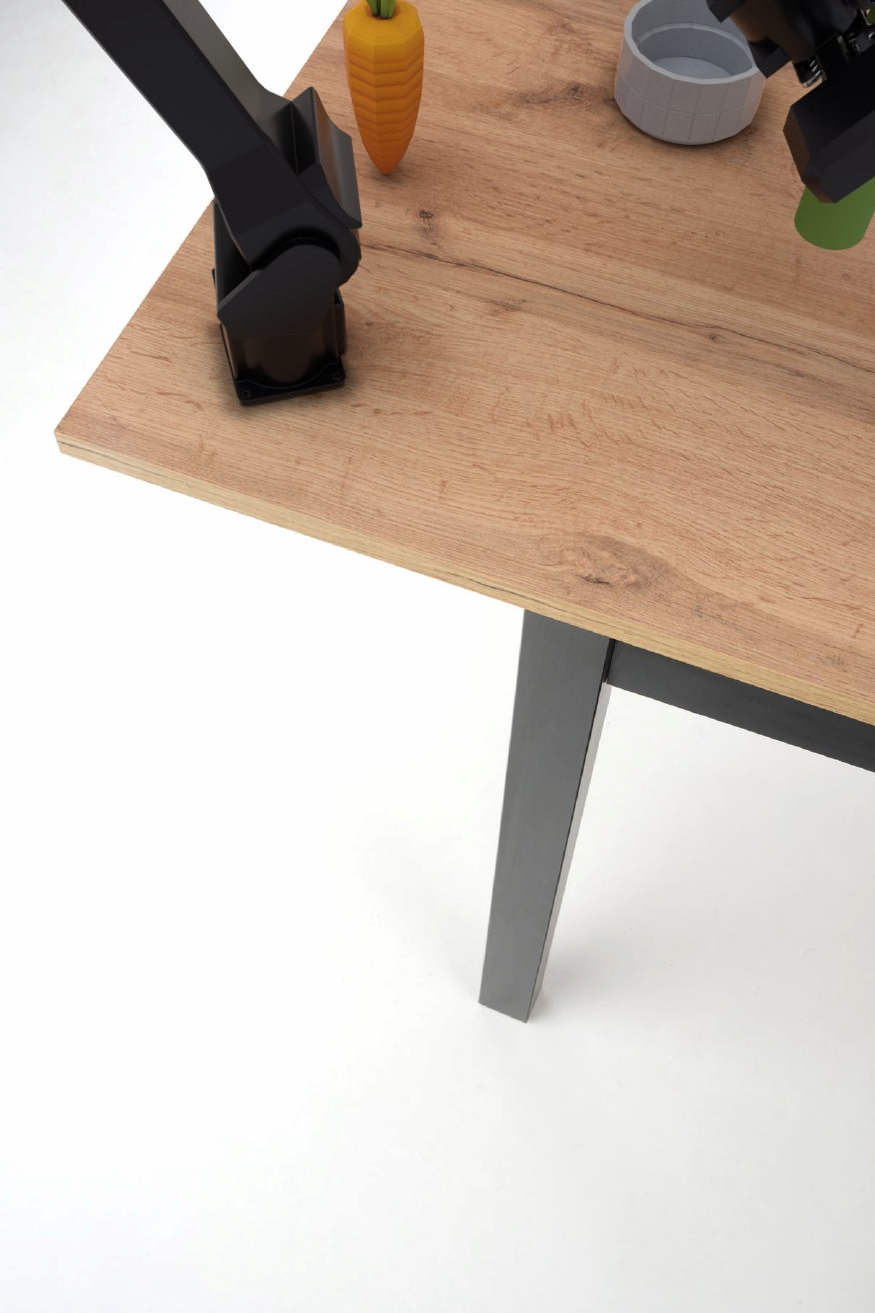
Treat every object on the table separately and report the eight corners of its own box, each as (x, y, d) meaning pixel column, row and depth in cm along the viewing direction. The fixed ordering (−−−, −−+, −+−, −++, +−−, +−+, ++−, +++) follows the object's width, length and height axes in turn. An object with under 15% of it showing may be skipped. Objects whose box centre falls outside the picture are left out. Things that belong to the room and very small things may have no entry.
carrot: (415, 204, 76) (415, -21, 63) (341, 192, 77) (326, -34, 64) (430, 153, 79) (434, -74, 65) (358, 142, 79) (348, -86, 66)
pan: (642, 160, 79) (655, 94, 74) (593, 66, 83) (603, -2, 79) (778, 136, 80) (800, 70, 76) (723, 44, 85) (740, -23, 80)
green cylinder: (839, 261, 65) (941, 21, 52) (779, 225, 66) (865, -18, 53) (878, 223, 66) (986, -19, 54) (819, 189, 67) (911, -56, 55)
